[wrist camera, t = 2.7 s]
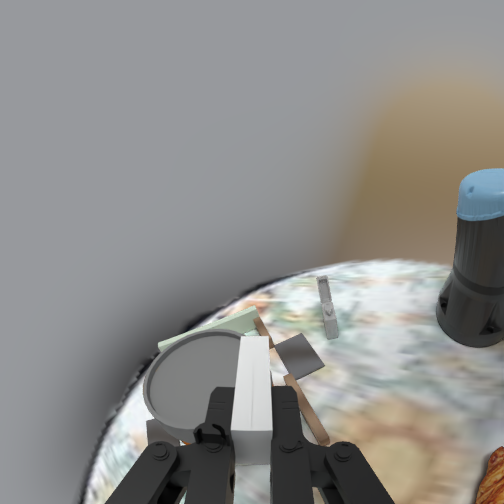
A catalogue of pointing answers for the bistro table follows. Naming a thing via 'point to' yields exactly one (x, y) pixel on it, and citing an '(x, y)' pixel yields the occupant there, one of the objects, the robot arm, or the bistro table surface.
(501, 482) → the croissant
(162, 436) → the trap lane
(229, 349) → the reusable coffee cup
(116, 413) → the bistro table surface
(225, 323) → the pale grey board
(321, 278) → the lighter
